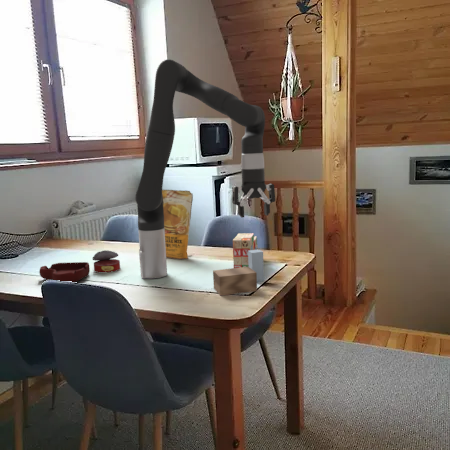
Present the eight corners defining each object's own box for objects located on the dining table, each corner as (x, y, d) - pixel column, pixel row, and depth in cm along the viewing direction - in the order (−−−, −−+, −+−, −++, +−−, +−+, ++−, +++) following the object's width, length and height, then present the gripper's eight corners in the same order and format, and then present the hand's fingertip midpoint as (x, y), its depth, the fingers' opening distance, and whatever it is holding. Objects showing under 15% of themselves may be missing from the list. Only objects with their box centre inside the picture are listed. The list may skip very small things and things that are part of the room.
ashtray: (102, 279, 177) (101, 265, 176) (59, 289, 166) (58, 275, 165) (78, 271, 190) (76, 258, 189) (36, 280, 179) (35, 267, 178)
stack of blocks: (242, 258, 198) (241, 228, 196) (258, 258, 197) (257, 228, 195) (233, 273, 178) (232, 239, 175) (250, 273, 176) (249, 239, 174)
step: (220, 295, 152) (219, 276, 151) (213, 288, 159) (213, 270, 158) (257, 290, 155) (256, 272, 154) (248, 284, 162) (248, 266, 161)
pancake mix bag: (162, 252, 215) (158, 188, 210) (197, 256, 204) (193, 189, 199) (151, 255, 209) (147, 190, 204) (187, 260, 199) (183, 191, 194)
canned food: (95, 283, 187) (81, 261, 187) (110, 274, 197) (96, 252, 196) (116, 272, 183) (102, 249, 182) (130, 262, 192) (116, 241, 191)
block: (252, 282, 165) (251, 252, 163) (248, 278, 169) (248, 250, 167) (263, 280, 166) (263, 251, 164) (259, 277, 170) (259, 249, 168)
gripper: (235, 169, 155) (237, 219, 158) (277, 166, 159) (278, 216, 162) (228, 168, 163) (230, 216, 165) (269, 165, 166) (270, 213, 169)
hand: (254, 216), depth 164 cm, fingers open, 8 cm apart
